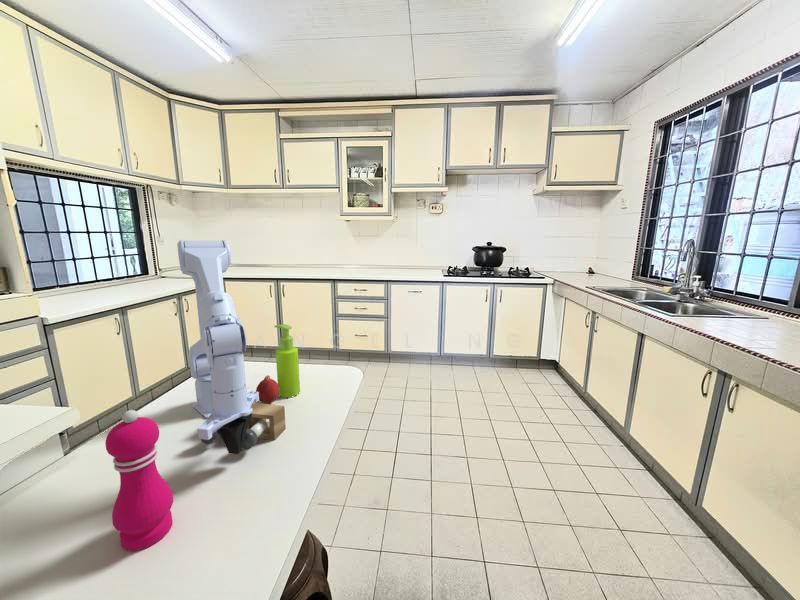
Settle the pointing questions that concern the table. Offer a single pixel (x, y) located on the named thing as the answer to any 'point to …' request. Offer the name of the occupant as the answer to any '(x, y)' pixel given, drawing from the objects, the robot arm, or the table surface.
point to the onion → (268, 390)
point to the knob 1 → (214, 437)
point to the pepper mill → (139, 483)
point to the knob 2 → (254, 434)
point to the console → (275, 419)
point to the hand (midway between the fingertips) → (235, 451)
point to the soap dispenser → (287, 364)
